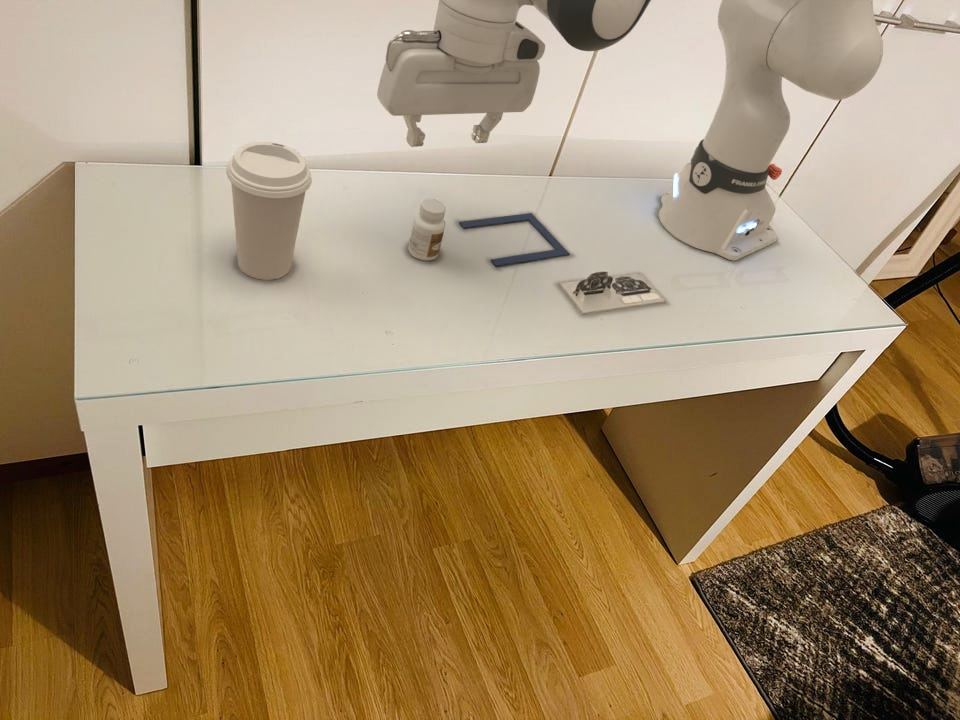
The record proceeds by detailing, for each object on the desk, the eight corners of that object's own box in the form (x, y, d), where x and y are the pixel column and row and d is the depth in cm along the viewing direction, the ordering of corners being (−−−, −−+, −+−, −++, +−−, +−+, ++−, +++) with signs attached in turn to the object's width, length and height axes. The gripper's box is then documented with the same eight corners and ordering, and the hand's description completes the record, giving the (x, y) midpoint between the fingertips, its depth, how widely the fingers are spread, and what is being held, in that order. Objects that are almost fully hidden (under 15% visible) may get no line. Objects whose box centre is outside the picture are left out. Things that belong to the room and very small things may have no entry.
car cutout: (582, 315, 105) (592, 290, 102) (558, 285, 109) (568, 260, 106) (664, 303, 112) (676, 279, 109) (639, 275, 116) (650, 251, 113)
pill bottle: (434, 265, 105) (445, 218, 100) (404, 255, 105) (413, 208, 100) (441, 248, 108) (452, 202, 103) (412, 239, 108) (422, 192, 103)
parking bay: (530, 214, 121) (531, 212, 121) (569, 255, 115) (570, 253, 115) (458, 223, 114) (459, 221, 114) (495, 267, 108) (496, 265, 108)
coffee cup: (317, 262, 99) (329, 160, 89) (273, 298, 92) (280, 191, 82) (256, 233, 101) (261, 129, 91) (208, 265, 94) (208, 157, 84)
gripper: (403, 42, 79) (383, 160, 88) (557, 46, 90) (524, 151, 99) (378, 17, 83) (361, 133, 92) (528, 24, 93) (500, 127, 102)
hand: (447, 142), depth 95 cm, fingers open, 8 cm apart
